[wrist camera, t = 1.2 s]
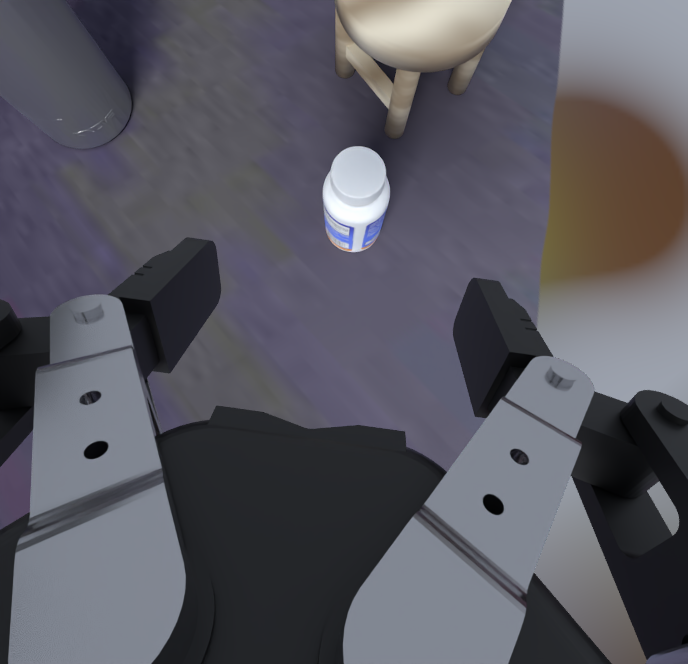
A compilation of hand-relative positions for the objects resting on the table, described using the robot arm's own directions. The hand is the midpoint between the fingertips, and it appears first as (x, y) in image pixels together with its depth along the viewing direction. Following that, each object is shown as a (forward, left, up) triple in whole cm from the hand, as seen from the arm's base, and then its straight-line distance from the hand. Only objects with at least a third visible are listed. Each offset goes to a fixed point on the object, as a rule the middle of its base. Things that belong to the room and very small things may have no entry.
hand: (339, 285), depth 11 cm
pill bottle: (-8, +8, -22) cm, 25 cm away
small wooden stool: (-18, +22, -22) cm, 36 cm away
